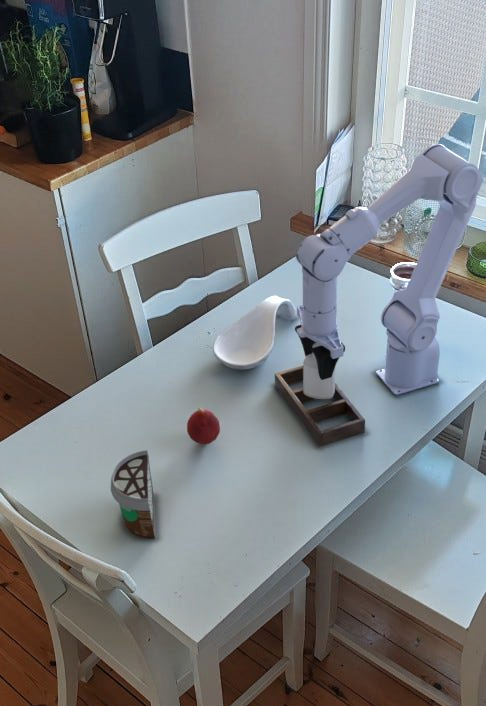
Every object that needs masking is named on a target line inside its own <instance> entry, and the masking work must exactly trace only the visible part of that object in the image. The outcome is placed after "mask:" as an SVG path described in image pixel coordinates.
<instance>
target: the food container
mask: <svg viewBox="0 0 486 706" xmlns="http://www.w3.org/2000/svg"><path fill="white" fill-rule="evenodd" d="M149 458H150V456H149V451H148V449H145V450H140V451H136V452H134V453H131V454H129V455H127V456H126V457H124V458H123V459H121V460H120V461H119V462H118V463H117V464H116V466H115V468H114V470H113V472H112V474H111V478H110V492H111V495H112V497H113V499H114V500H115V501H116V502H117V503H118V505H119V509H120V512H121V516H122V518H123V522H124V525H125V528H126V529H127V530H128V531H129V533H131V534H132V535H133V536H136V537H138V538H141V539H146V540H147V539H149V540H152V539H156V517H155V516H156V515H155V514H156V513H155V512H156V511H155V510H156V509H155V507H156V506H155V493H154V487H153V479H152V474H151V473H152V472H151V466H150V460H149Z"/></svg>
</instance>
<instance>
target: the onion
mask: <svg viewBox="0 0 486 706" xmlns="http://www.w3.org/2000/svg"><path fill="white" fill-rule="evenodd" d="M220 425H221V424H220V421H219V419H218V417H217V416H216V415H215V414H214V413H213V412H212V411H211V410H208V409H203V407H198V409H197V410H196V411H194V412H193V413H192V414H191V415H190V417H189V418H188V420H187V423H186V432H187V435H188V436H189V438H190V439H191V441H193V442H194V443H196V444H199V445H210V444H211V443H213V442H214V441H216V439H217V438H218V436H219V434H220V432H221V426H220Z"/></svg>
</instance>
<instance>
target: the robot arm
mask: <svg viewBox="0 0 486 706" xmlns="http://www.w3.org/2000/svg"><path fill="white" fill-rule="evenodd" d="M483 182H484V178H483V175H482V173H481V171H480V169H479V168H478V166H477V165H476V164H474V163H472V162H470V161H467V160H466V159H465V158H463V157H461V156H459V155H458V154H456V153H454V152H453V151H451V150H450V149H448V148H447V146H445V145H443V144H441V143H434V144H430V145H429V146H427V147H426V148H425V149H424V150H423V151H422V152H421V153H419V154H418V155H416V156H415V157H413V160H412V163H411V165H410V168H409V170H408V171H407V172H406V173H404V174H403V175H402V176H401V177H399V179H397V181H395V182H394V183H393V184H392V185H391V186H390V187H388V189H386V190H385V191H384V192H383V193H382V194H380V196H378V197H377V198H376V199H375V200H374V201H373V202H372V203H370V204H369V205H368V206H367V207H361V206H356V207H354V208H353V209H349V210H348V211H346V212H345V214H344V215H343V216H342V217H341V218H340V219H338V220H337V221H336V222H334V223H332V225H330V226H329V227H328V228H326V229H325V230H323V231H322V232H321V233H316V234H310V235H308V236H307V237H305V238H304V239H303V240H302V241H301V243H300V244H299V246H298V250H297V251H296V252H295V254H294V255H295V259H296V261H297V263H299V265H301V273H302V305H298V306H296V315H297V318H298V319H299V320H300V324H297V325H296V326H295V327H294V331H295V332H296V334H297V336H298V338H299V341H300V343H301V344H302V349H303V354H304V358H305V357H306V356H307V355H309V354H312V352H313V354H314V356H315V358H316V361H317V365H318V373H319V377H320V379H321V380H324V379H327V378H331V377H332V375H333V372H334V369H335V370H336V365H337V363H338V362H339V359H340V358H342V357H344V353H345V352H346V346H345V344H344V343H343V342H342V341H341V338H340V337H341V336H340V332H339V327H338V323H337V316H338V315H337V312H338V311H337V310H338V309H337V308H338V276H339V275H341V273H342V272H343V270H344V268H345V266H346V264H347V263H348V262H349V260H351V256H353V255H354V254H355V253H357V252H358V251H359V250H360V249H362V248H363V247H364V246H366V245H368V244H369V242H371V241H372V240H374V238H376V237H377V236H378V233H379V228H380V225H381V224H383V223H385V222H386V221H387V220H389V219H391V218H392V217H394V216H395V215H397V214H398V213H400V212H402V211H403V210H404V209H406V208H408V207H409V206H410V205H412V204H414V203H415V202H416V201H418V200H421V199H423V200H432V201H437V203H438V205H439V208H438V210H437V212H436V215H435V217H434V220H433V222H432V224H431V227H430V230H429V232H428V234H427V237H426V239H425V242H424V244H423V246H422V249H421V251H420V254H419V256H418V258H417V261H416V263H415V264H416V266H415V268H414V271H413V273H412V275H411V278H410V280H409V283H408V285H407V287H406V289H403V290H399V291H396V292H395V291H394V293H393V295H392V297H391V299H390V301H389V302H388V303H387V304H386V306H385V307H384V308H383V310H382V312H381V316H380V322H381V324H382V326H383V327H384V328H385V329H386V336H387V338H386V339H387V340H386V341H387V343H386V352H385V353H386V355H385V365H384V366H385V367H384V368H380V369H378V370H376V371H375V374H376V375H377V376H378V378H379V379H380V380H381V381H382V383H384V384H385V386H386V387H387V388H388V389H389V390H390V391H391V392H392V394H393V395H395V396H399V395H403V394H406V393H409V392H413V391H415V390H419V389H423V388H425V387H429V386H431V385H432V386H433V385H435V384H438V383H439V382H440V380H439V378H438V371H439V363H440V356H441V353H440V351H441V349H440V344H439V341H438V340H437V337H436V336H437V331H438V330H437V329H438V323H439V320H440V318H441V316H440V311H439V308H438V305H437V302H436V298H437V296H438V293H439V291H440V289H441V286H442V284H443V281H444V279H445V277H446V274H447V272H448V270H449V268H450V266H451V264H452V261H453V259H454V256H455V254H456V252H457V249H458V248H459V245H460V242H461V240H462V238H463V235H464V233H465V231H466V229H467V226H468V224H469V221H470V220H471V217H472V216H473V215H472V214H473V212H474V210H475V207H476V204H477V196H478V194H479V191H480V189H481V187H482V185H483ZM315 343H318V344H320V345H322V346H318V347H314V348H312V347H313V345H314V344H315Z"/></svg>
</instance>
